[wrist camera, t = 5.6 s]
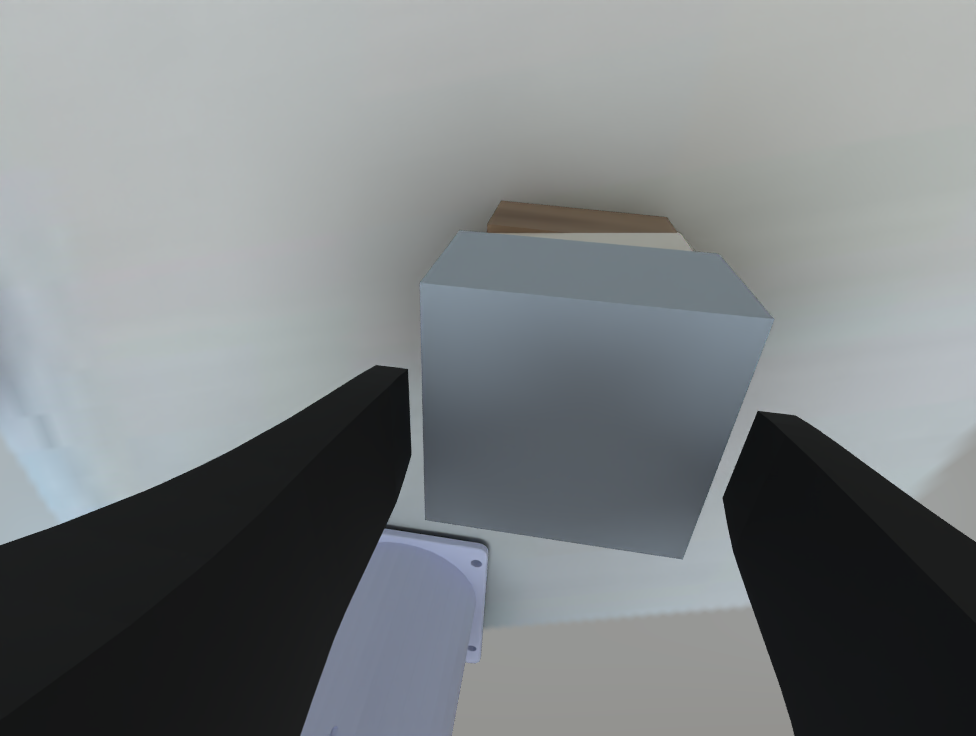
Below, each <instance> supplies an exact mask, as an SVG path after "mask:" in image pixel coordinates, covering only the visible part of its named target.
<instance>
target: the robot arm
mask: <svg viewBox="0 0 976 736" xmlns="http://www.w3.org/2000/svg"><path fill="white" fill-rule="evenodd" d="M410 458H411V432H410V407H409V383H408V369H403V368H395V367H386V366H378V365H376V366H374V367H372V368H370V369H368V370H367V371H365V372H363V373H361V374H360V375H358V376H357V377H355V378H353V379H352V380H350V381H349V382H347V383H345V384H344V385H342V386H341V387H339V388H337V389H336V390H334V391H333V392H331V393H330V394H328V395H326V396H325V397H323V398H321V399H320V400H318V401H317V402H315V403H313V404H312V405H310V406H308V407H307V408H305V409H304V410H302V411H300V412H299V413H297V414H295V415H294V416H292V417H290V418H289V419H287V420H285V421H283V422H282V423H280V424H278V425H276V426H274V427H273V428H271V429H269V430H267V431H265V432H264V433H262V434H260V435H258V436H256V437H255V438H253V439H251V440H249V441H248V442H246V443H244V444H242V445H240V446H239V447H237V448H235V449H233V450H231V451H229V452H227V453H225V454H223V455H221V456H219V457H217V458H215V459H213V460H211V461H209V462H207V463H205V464H203V465H201V466H199V467H197V468H195V469H193V470H190V471H188V472H186V473H184V474H182V475H179V476H177V477H175V478H173V479H171V480H169V481H166V482H164V483H162V484H160V485H157V486H155V487H153V488H151V489H148V490H146V491H144V492H141V493H138V494H136V495H133V496H131V497H128V498H126V499H123V500H121V501H118V502H116V503H113V504H111V505H108V506H106V507H103V508H100V509H98V510H95V511H93V512H90V513H88V514H85V515H83V516H80V517H78V518H75V519H73V520H70V521H67V522H65V523H62V524H60V525H57V526H54V527H52V528H49V529H46V530H43V531H40V532H37V533H34V534H32V535H29V536H26V537H23V538H20V539H17V540H14V541H12V542H9V543H6V544H3V545H0V736H452V731H453V725H454V719H455V714H456V709H457V704H458V699H459V693H460V688H461V682H462V677H463V671H464V666H465V662H467V663H477V662H479V661H480V657H481V648H482V634H483V621H484V607H485V594H486V580H487V566H488V553H489V552H488V549H487V547H486V546H484V545H483V544H480V543H476V542H469V541H463V540H456V539H450V538H443V537H437V536H430V535H424V534H417V533H411V532H404V531H398V530H391V529H385V526H386V524H387V522H388V520H389V518H390V515H391V513H392V511H393V509H394V507H395V504H396V502H397V499H398V496H399V493H400V490H401V487H402V484H403V481H404V478H405V474H406V471H407V468H408V465H409V461H410ZM723 503H724V509H725V514H726V520H727V525H728V530H729V535H730V539H731V544H732V548H733V553H734V556H735V559H736V562H737V565H738V568H739V571H740V574H741V576H742V579H743V582H744V585H745V588H746V591H747V594H748V597H749V600H750V603H751V605H752V608H753V611H754V614H755V617H756V619H757V622H758V625H759V628H760V631H761V634H762V636H763V639H764V642H765V645H766V648H767V651H768V654H769V656H770V659H771V662H772V665H773V667H774V670H775V673H776V676H777V679H778V682H779V685H780V687H781V691H782V694H783V697H784V701H785V703H786V707H787V710H788V713H789V717H790V720H791V723H792V727H793V731H794V735H795V736H976V542H975V541H974V540H972V539H970V538H969V537H967V536H966V535H964V534H963V533H962V532H960V531H959V530H957V529H956V528H954V527H953V526H951V525H950V524H948V523H947V522H946V521H944V520H943V519H941V518H940V517H939V516H937V515H936V514H934V513H933V512H931V511H930V510H929V509H927V508H926V507H924V506H923V505H921V504H920V503H919V502H917V501H916V500H914V499H913V498H912V497H910V496H909V495H908V494H906V493H905V492H903V491H902V490H901V489H899V488H898V487H896V486H895V485H894V484H892V483H891V482H890V481H888V480H887V479H885V478H884V477H883V476H881V475H880V474H879V473H877V472H876V471H875V470H873V469H872V468H870V467H869V466H868V465H866V464H865V463H864V462H862V461H861V460H860V459H858V458H857V457H855V456H854V455H853V454H851V453H850V452H849V451H847V450H846V449H844V448H843V447H842V446H840V445H839V444H838V443H836V442H835V441H833V440H832V439H831V438H829V437H828V436H826V435H825V434H823V433H822V432H821V431H819V430H818V429H816V428H815V427H813V426H812V425H810V424H809V423H807V422H805V421H804V420H802V419H800V418H799V417H797V416H795V415H787V414H779V413H770V412H762V411H758V412H757V414H756V417H755V419H754V422H753V424H752V427H751V429H750V431H749V434H748V436H747V439H746V441H745V444H744V446H743V449H742V451H741V454H740V456H739V459H738V461H737V464H736V466H735V468H734V471H733V473H732V476H731V478H730V481H729V483H728V486H727V488H726V491H725V493H724V496H723Z"/></svg>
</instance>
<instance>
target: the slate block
mask: <svg viewBox="0 0 976 736" xmlns="http://www.w3.org/2000/svg"><path fill="white" fill-rule="evenodd" d="M420 317H421V361H422V404H423V448H424V491H425V520H428V521H435V522H441V523H448V524H454V525H461V526H467V527H474V528H480V529H487V530H494V531H500V532H507V533H513V534H520V535H526V536H533V537H539V538H546V539H552V540H559V541H566V542H572V543H579V544H585V545H592V546H598V547H605V548H611V549H618V550H624V551H631V552H637V553H644V554H651V555H657V556H664V557H670V558H677V559H683V557H684V554H685V552H686V549H687V547H688V544H689V541H690V539H691V536H692V534H693V531H694V528H695V526H696V523H697V520H698V518H699V515H700V513H701V510H702V507H703V505H704V502H705V500H706V497H707V494H708V492H709V489H710V486H711V484H712V481H713V479H714V476H715V473H716V471H717V468H718V465H719V463H720V460H721V458H722V455H723V452H724V450H725V447H726V445H727V442H728V439H729V437H730V434H731V431H732V429H733V426H734V424H735V421H736V418H737V416H738V413H739V411H740V408H741V405H742V403H743V400H744V397H745V395H746V392H747V390H748V387H749V384H750V382H751V379H752V377H753V374H754V371H755V369H756V366H757V363H758V361H759V358H760V356H761V353H762V350H763V348H764V345H765V342H766V340H767V337H768V335H769V332H770V329H771V327H772V324H773V322H774V318H773V317H772V316H771V315H770V314H769V312H768V311H767V310H766V309H765V308H764V306H763V305H762V304H761V303H760V302H759V301H758V299H757V298H756V297H755V296H754V295H753V293H752V292H751V291H750V290H749V289H748V288H747V286H746V285H745V284H744V283H743V282H742V280H741V279H740V278H739V277H738V276H737V275H736V273H735V272H734V271H733V270H732V269H731V267H730V266H729V265H728V264H727V263H726V262H725V260H724V259H723V258H722V257H721V256H720V255H719V254H717V253H706V252H695V251H684V250H673V249H662V248H651V247H640V246H628V245H617V244H606V243H595V242H584V241H573V240H562V239H551V238H540V237H529V236H518V235H507V234H496V233H485V232H474V231H462V230H459V232H458V233H457V234H456V236H455V237H454V238H453V240H452V241H451V242H450V244H449V245H448V246H447V248H446V249H445V250H444V252H443V253H442V254H441V256H440V257H439V258H438V260H437V261H436V262H435V263H434V265H433V266H432V267H431V269H430V270H429V271H428V273H427V274H426V275H425V277H424V278H423V279H422V281H421V282H420Z"/></svg>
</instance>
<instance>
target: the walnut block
mask: <svg viewBox="0 0 976 736" xmlns="http://www.w3.org/2000/svg"><path fill="white" fill-rule="evenodd" d="M487 233H677V231H676V230H675V228H674V227H673V225H672V224H671V223H670V221H669V220H668V218H667V217H659V216H649V215H639V214H629V213H619V212H609V211H599V210H589V209H579V208H569V207H559V206H549V205H539V204H529V203H519V202H509V201H501V202H500V204H499V205H498V207H497V209H496V210H495V212H494V214H493V215H492V217H491V219H490V221H489V222H488V224H487Z"/></svg>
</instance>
